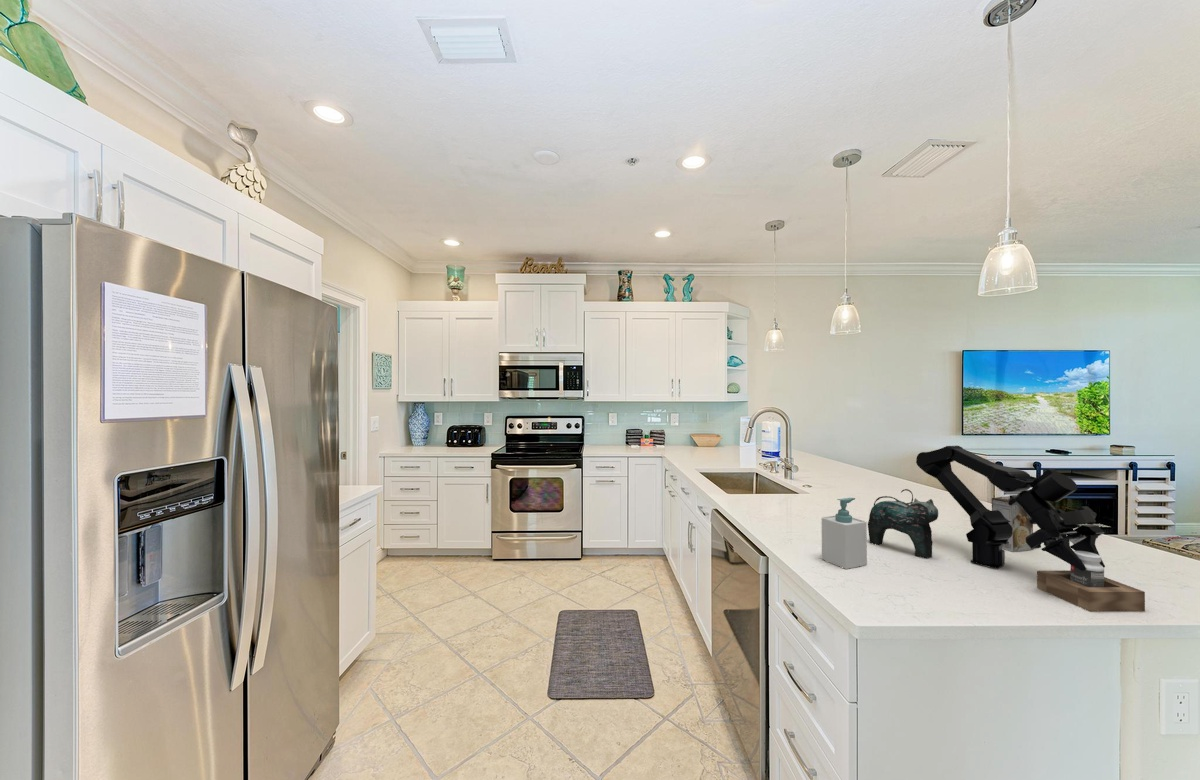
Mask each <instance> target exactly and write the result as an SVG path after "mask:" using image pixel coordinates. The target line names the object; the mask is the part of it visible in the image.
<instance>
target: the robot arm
mask: <svg viewBox="0 0 1200 780" xmlns="http://www.w3.org/2000/svg"><path fill="white" fill-rule="evenodd" d="M953 462H956V463H958V464H960V465H962V466H964V467H966V468H968V469H970V470H972V471H974V472H976V473H977V474H980V475H982V476H983V477H985V478H987V480H988V481H989V482H990V484H991V485H993V486H994V487H996V488H998V490H1001V491H1003V492H1006V493H1009V492H1010V493H1013V492H1018V493H1017V494H1011V495H1009V497H1010V499H1009V503H1008V504H1009V505H1020V506H1021V507H1022V509H1023V510H1024V511H1025V512H1026V513H1027V514H1028V515H1029V516H1030V518H1031V520H1030V521H1029V522H1030V523H1031V524H1033V525H1037V527H1038V528H1039V529H1037V530H1035V531H1033V533H1032V534H1031V535H1029V536H1027V537H1026V543H1027V544H1028V546H1029V547H1030V548H1031V549H1032V550H1036V549H1040V550H1041V551H1042V552H1046V553H1048V554H1050V555H1052V556H1053V557H1056V558H1057V559H1060V560H1062V561H1063V562H1065V563H1068V564H1069V565H1070V566H1071V565H1072V566H1074V567H1076V568H1078V569H1079V570H1081V571H1084V570H1086V567H1085V565H1084V564H1083V563H1082V561H1081V560H1080V559H1079V557H1078V556H1077V555H1076V554H1075V552H1074V551H1086V552H1091V553H1095V554H1098V555H1100V553H1099V551H1098V549H1097V546H1096V541H1097V539H1098V538H1099V536H1101V535H1104V534H1105V531H1104V530H1103V529H1102V528H1101V527H1100V526H1099V525H1095V524H1094V523H1097V522H1096V518H1097V512H1094V510H1093V509H1091V508H1090V507H1089V506H1087V505H1085V506H1079V507H1076V508H1075V510H1071V511H1065V510H1063V509H1061V508H1055V506H1054V505H1052V503H1057V502H1060V501H1061V500H1063V499H1064V498H1066V497H1067V496H1069V495H1071V494H1072V493H1074V492H1076V491H1077V490H1078V486H1077V484H1076V482H1075V481H1074V480H1073V478H1072V477H1071V478H1070V477H1068V476H1067V475H1065V474H1063V473H1061V472H1058V471H1057V470H1056V469H1054V468H1051V469H1050V468H1049V469H1048V468H1047V470H1044V472H1042V474H1041V475H1040V476H1037V477H1035V476H1032V475H1030V474H1029V473H1028V472H1027V471H1025V470H1022V469H1018V468H1014V467H1011V466H1007V465H1006V466H1005V465H1002V464H998V463H995V462H993V461H990V460H988V459H986V458H984V457H982V456H980V455H978V454H976V453H973V452H971V451H969V450H967V449H965V448H963V447H961V446H960V445H946V446H943V447H942V448H939V449H934V450H931V451H922V452H919V453H918V454H917V456H916V461H915V463H916V465H917V467H919V469H921V471H923V472H924V473H925V474H927V475H929V476H930V477H932V478H934V479H936V480H937V481H938V483H940V484H941V485H942V487H943V488H944V489H945V490H946V491H947V492H948V493H949V494H950V496H951V497H952V498H953V500H955V501H956V502H957V504H958V505H959V506H960V507H961V508H962V509H963V510H964V512H965V513H966V514H967V515H968V516H969V521H970V526H971V527H972V529H971V530H970V531H969V532H968V531H967V533H966V534H965V536H966V539H967V542H969V543H971V547H972V551H971V552H972V559H971V560H970V561H969V562H970V563H972V564H976V565H980V566H984V567H989V568H990V569H991V568H993V569H997V570H999V569H1000V568H1001V567H1003V566H1004V565H1005V564H1006V553H1005V552H1006V550H1004V549H1002V544H1007V542H1008V539H1009V538H1010V537H1011V536H1012V530H1013V528H1012V526H1011V525H1010V524H1009V523H1008V522H1010V521H1009V520H1007V519H1006V518H1005V517H1004V516H1003V514H1002V513H1001V512H1000V511H999V510H993V511H992V510H990V509H989V508H987V507H986V506H984V504H983V503H982V502H981V501H980V500H979V498H977V497H976V496H975V494H974V493H973V492H972V491H971V490H970V489H969V488H968V487H967V486H966V485H965V483H963V481H961V479H960V477H958V476H957V475H956V474H955V472H953V470H952V469H953V468H952V464H951V463H953ZM1030 488H1031V489H1030ZM1050 502H1052V503H1050ZM1088 523H1090V524H1088ZM1081 524H1082V525H1081ZM1070 543H1071V544H1072V545H1071V544H1070ZM1042 544H1043V546H1044V547H1042ZM1100 565H1102V566H1103V567H1104V568H1105V567H1106V565H1105V564H1104V560H1103V558H1101V562H1100Z"/></svg>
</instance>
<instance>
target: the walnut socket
mask: <svg viewBox="0 0 1200 780" xmlns="http://www.w3.org/2000/svg"><path fill="white" fill-rule="evenodd" d="M1070 574H1071V569H1070V570H1065V569H1064V570H1036V589H1038V590H1041V591H1043V592H1045V593H1048V594H1049V595H1051V596H1055V597H1057V598H1058V599H1061V600H1063V601H1065V602H1067V603H1069V604H1072V605H1074V606H1076V607H1078V606H1079V607H1078V608H1080V607H1081V609H1082V610H1085V609H1086V611H1087V610H1088V611H1087V612H1146V594H1145V593H1146V592H1145V591H1144V590H1141V589H1138V588H1135V587H1133V586H1131V585H1127V584H1124V583H1122V582H1119V581H1117V580H1114V579H1111V578H1108V577H1105V576H1104V587H1086V586H1084V585H1081V584H1079V583H1076V582H1074V581H1071V580H1070Z"/></svg>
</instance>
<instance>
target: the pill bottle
mask: <svg viewBox="0 0 1200 780" xmlns="http://www.w3.org/2000/svg"><path fill="white" fill-rule="evenodd" d="M1073 551H1074V552H1075V554H1076V555H1077V556H1078V557H1079V559H1080V560H1081V561H1082V563H1083V564H1084V565H1085V567H1086V570H1084V571H1081V570H1079V569H1078V568H1076V567H1074V566H1072V565H1071V564H1070V570H1071V574H1070V580H1071V581H1074V582H1076V583H1079V584H1081V585H1084V586H1086V587H1104V577H1105V567H1103V566H1102V565H1100V562H1101V559H1102V556H1101V555H1100V554H1099V555H1098V554H1095V553H1091V552H1086V551H1075V550H1073Z"/></svg>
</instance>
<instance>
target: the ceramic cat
mask: <svg viewBox="0 0 1200 780" xmlns="http://www.w3.org/2000/svg"><path fill="white" fill-rule="evenodd" d="M905 491H907V492H909V493H911V501H910V502H905V501H902V500H899V499H898V498H896V497H894V496H887V495H885V496H879V497H878V498H876V499H875V501H874V503H873V506H872V507H871V509H870V512H869V515H868V516H869V517H868V522H867V530H868V538H869V543H870V544H872V543H873V544H872V545H875V544H876V546H882V545H883V542H884V537H885V533H886V531H887V530H894V531H897V532H899V533H903V534H906V535H907V536H908V537H909V538H910V540H911V541H912V544H913V546H914V557H919V558H923V559H925V560H927V559H931V558H933V543H934V541H933V539H932V538H933V536H932V535H933V534H932V532H933V531H932V528H931V525H930V523H934V522H935V521H937V520H938V518H939V509H938V507H937V506H935V505H934V501H933V499H932V498H930V499H928V500H926V501H919V500H918V499H917V498H916V497H915V498H914V494H913V492H912V491H911V490H910V489H908V488H905V489H902V490H901V492H900V493H902V492H905ZM886 498H890V499H893V500H883V501H879V500H880V499H886ZM878 501H879V502H878Z"/></svg>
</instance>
